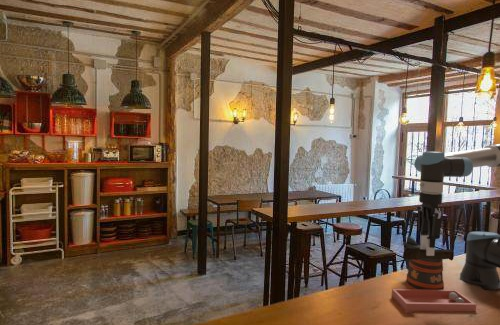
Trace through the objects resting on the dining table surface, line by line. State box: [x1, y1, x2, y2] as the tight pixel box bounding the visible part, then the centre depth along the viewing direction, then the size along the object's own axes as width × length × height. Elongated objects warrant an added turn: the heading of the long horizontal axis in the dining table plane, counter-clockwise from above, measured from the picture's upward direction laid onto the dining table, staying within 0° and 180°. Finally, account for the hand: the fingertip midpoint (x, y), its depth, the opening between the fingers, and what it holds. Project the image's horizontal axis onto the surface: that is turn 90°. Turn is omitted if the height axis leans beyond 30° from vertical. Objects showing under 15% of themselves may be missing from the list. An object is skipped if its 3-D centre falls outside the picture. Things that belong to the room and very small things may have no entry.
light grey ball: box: [449, 292, 458, 301], centre depth 131 cm, size 3×3×3 cm
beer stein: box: [402, 236, 445, 290], centre depth 145 cm, size 19×15×20 cm
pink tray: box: [391, 288, 477, 314], centre depth 129 cm, size 26×12×4 cm, turn 91°
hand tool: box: [402, 247, 455, 261], centre depth 128 cm, size 19×4×5 cm, turn 92°
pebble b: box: [455, 298, 465, 303], centre depth 127 cm, size 3×3×3 cm
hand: (427, 253), depth 128 cm, fingers closed on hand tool, 3 cm apart
